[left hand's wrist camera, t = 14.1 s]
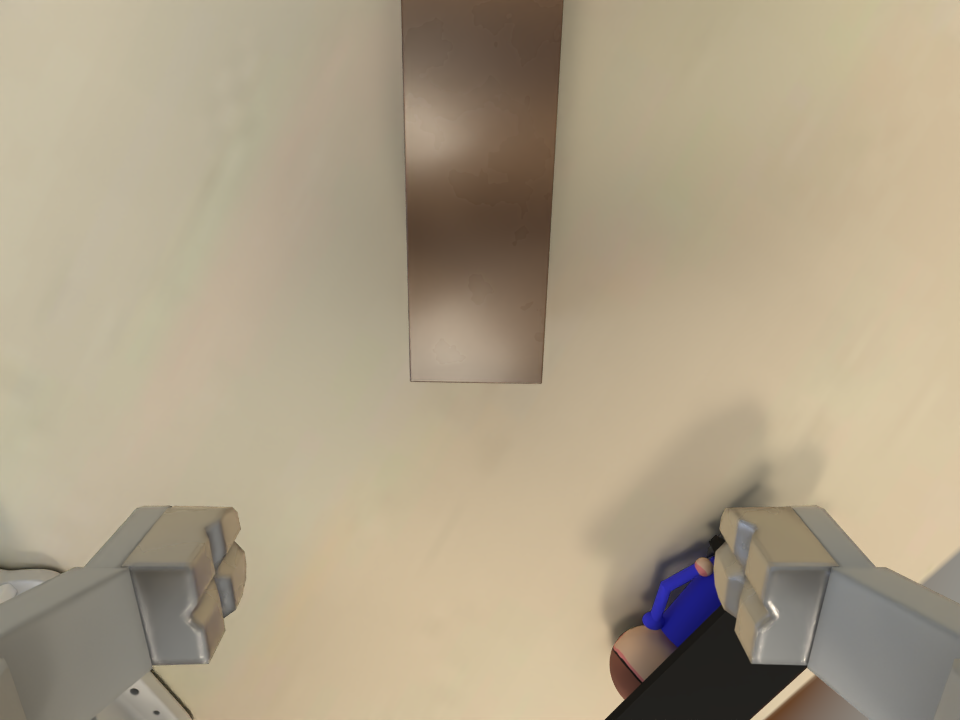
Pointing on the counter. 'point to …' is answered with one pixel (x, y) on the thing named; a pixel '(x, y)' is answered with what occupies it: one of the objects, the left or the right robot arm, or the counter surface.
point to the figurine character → (691, 657)
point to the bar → (479, 184)
